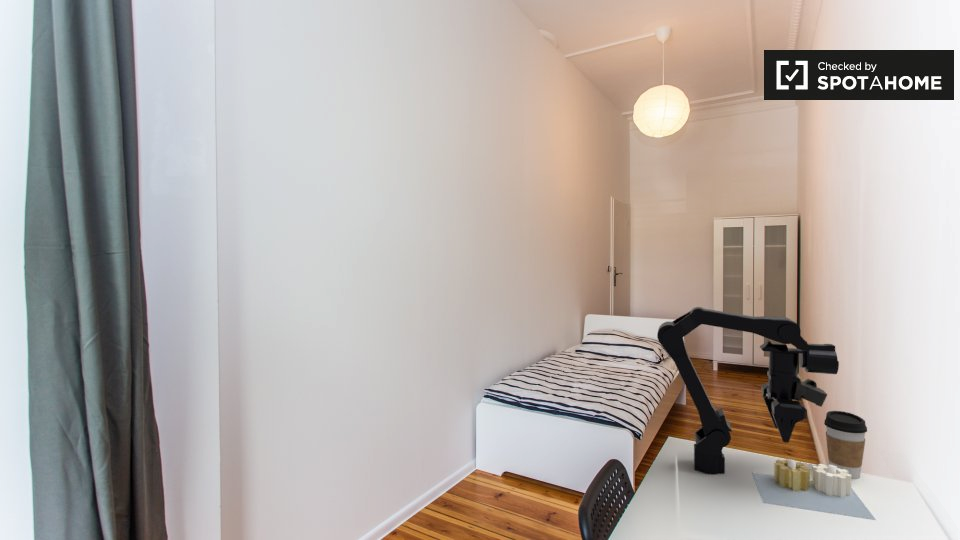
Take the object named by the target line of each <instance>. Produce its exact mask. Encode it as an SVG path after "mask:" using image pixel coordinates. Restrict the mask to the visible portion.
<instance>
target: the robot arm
mask: <svg viewBox="0 0 960 540" xmlns="http://www.w3.org/2000/svg"><path fill="white" fill-rule="evenodd" d="M701 325H705V326H711V327H716V328H723V329H728V330H733V331H740V332H745V333H751V334H755V335H757V336H759V337H760V336H761V337H764V338H766V340H765V342H763V343H762V344H761V345H759V349H760V350H761V351H763V352H768V353H769V354H768V359H769V360H768V370H767V373H766V375H767V377H768V382H765V383H763V384H762V385H761V386H760V387H761V388H760V389H761V390H760V393H761V396H762V399H763V401H764V404H765V405H766V407H767V411H768V413H769V416H770V418H771V420H772V423H773V426H774V427H775V429H778V433H779V436H780V437H781V440H782V443H785V444H787V443H790V440H791V437H792V435H793V434H792V433H793V431H794V429H795V426H796V425H797V423H798V422H801V421H804V420H805V419H807V418H808V410H807V408H806V407H805V406H804V405H803V403H801V401H802V399H803V400H805V401H808V402H810V403H813V404H815V406H817V407H820V408H821V407H823V405H824V403H825V401H826V399H827V396H828V393H827V392H826V391H825V390H823V389H822V388H820V387H818V386H817V382H816V381H815V380H812V379H809V378H806V379H805V380H804V381H802V379H801V378H800V377H799V376H798V368H799V367H800V368H803V369H804V371H805V372H806V373H810V374H811V373H814V374H825V375H826V374H828V375H837V374H838V372H839V368H840V367H839V366H840V361H839V360H838V355H837V351H836V346H835V344H832V343H822V344H821V343H808V341H806V340H805V339H804V338H803V337H802V335H801V328H800V325H798V323H797V322H796V321H793V320H792V319H791V318H789V317H786V316H782V315H778V316H777V315H776V316H775V315H774V316H773V315H765V316H763V315H762V316H751V315H747V314H745V315H744V314H738V313H733V312H727V311H721V310H715V309H708V308H704V307H702V306H696V307H693V308H691V310H690V311H687V312H686V313H684V314H683V315H681V316H679V317H677V318H676V319H674V320H673V321H665V322H663V323H661V324H660V325H659V327H658V328H657V329H658V330H657V336H656V338H657V340H658V342H659V344H660V345H661V347H662V348H663V350H664V352H666V353H667V355H668V356H669V357H670V358H671V359H672V361H673V363H674V364H675V366H676V369H677V370H678V373H679V375H680V377H681V379H682V380H683V383H684V385H685V388H686V389H687V391H688V394H689V396H690V397H691V400H692V401H693V404H694V406H695V408H696V410H697V413H698V415H699V420H700V423H701V427H700V428H699V429H698V430H696V431H695V432H694V440H695V443H694V444H693V469H694V471H698V472H699V473H702V474H705V475H713V476H714V475H718V474H719V475H724V474H725V472H726V470H725V469H726V463H725V462H726V458H725V457H726V456H725V454H724V453H723V450H724V448H725V447H727V446H728V445H729V444H730V442H731V440H732V436H731V432H733V430H732V426H731V423H730V421H729V420H728V419H727V417H726V416H725V414H724V410H723V408H722V407H720V408H718V409H717V408H716V407H715V406H714V404H713V403H712V402H711V400H710V398H709V397H710V396H709V395H708V394H707V393H708V392H707V391H706V389H705V386H704V385H703V383H702V381H701V379H700V376H699V375H698V373H697V371H696V369H695V367H694V365H693V362H692V360H691V359H690V356H689V354H688V350H687V348H686V343H685V339H684V337H686V336H687V335H689V334H690V333H691V332H693V331H694V330H695V329H696V328H698V327H699V326H701ZM770 340H772V341H774V342H777V343H772V342H771V341H770ZM788 345H792V346H793V347H794V348H793V347H788ZM798 364H799V365H798ZM798 366H799V367H798Z"/></svg>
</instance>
